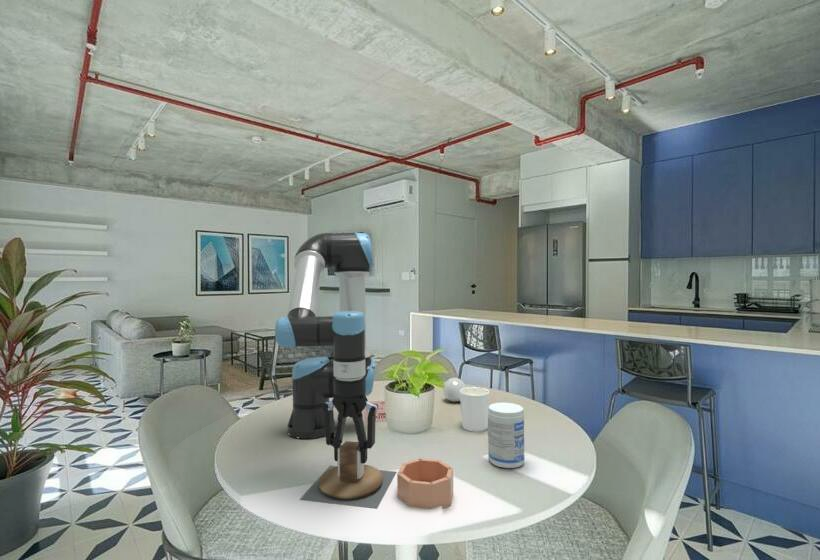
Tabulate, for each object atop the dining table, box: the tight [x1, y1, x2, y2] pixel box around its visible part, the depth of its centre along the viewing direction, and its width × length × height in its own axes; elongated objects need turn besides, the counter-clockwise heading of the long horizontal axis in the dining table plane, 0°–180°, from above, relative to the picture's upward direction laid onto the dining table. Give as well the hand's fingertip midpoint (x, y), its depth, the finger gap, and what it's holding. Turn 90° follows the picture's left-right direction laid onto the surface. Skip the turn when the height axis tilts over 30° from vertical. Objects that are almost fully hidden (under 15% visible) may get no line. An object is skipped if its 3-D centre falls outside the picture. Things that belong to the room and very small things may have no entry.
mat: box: [299, 465, 398, 510], centre depth 100 cm, size 18×17×1 cm
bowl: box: [396, 458, 454, 510], centre depth 96 cm, size 12×12×6 cm
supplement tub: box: [487, 402, 525, 469], centre depth 114 cm, size 10×10×15 cm
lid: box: [319, 440, 383, 499], centre depth 100 cm, size 15×15×9 cm
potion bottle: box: [442, 377, 483, 403], centre depth 167 cm, size 9×10×15 cm
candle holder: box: [459, 386, 491, 433], centre depth 139 cm, size 10×10×12 cm
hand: (350, 474), depth 100 cm, fingers closed on lid, 4 cm apart
